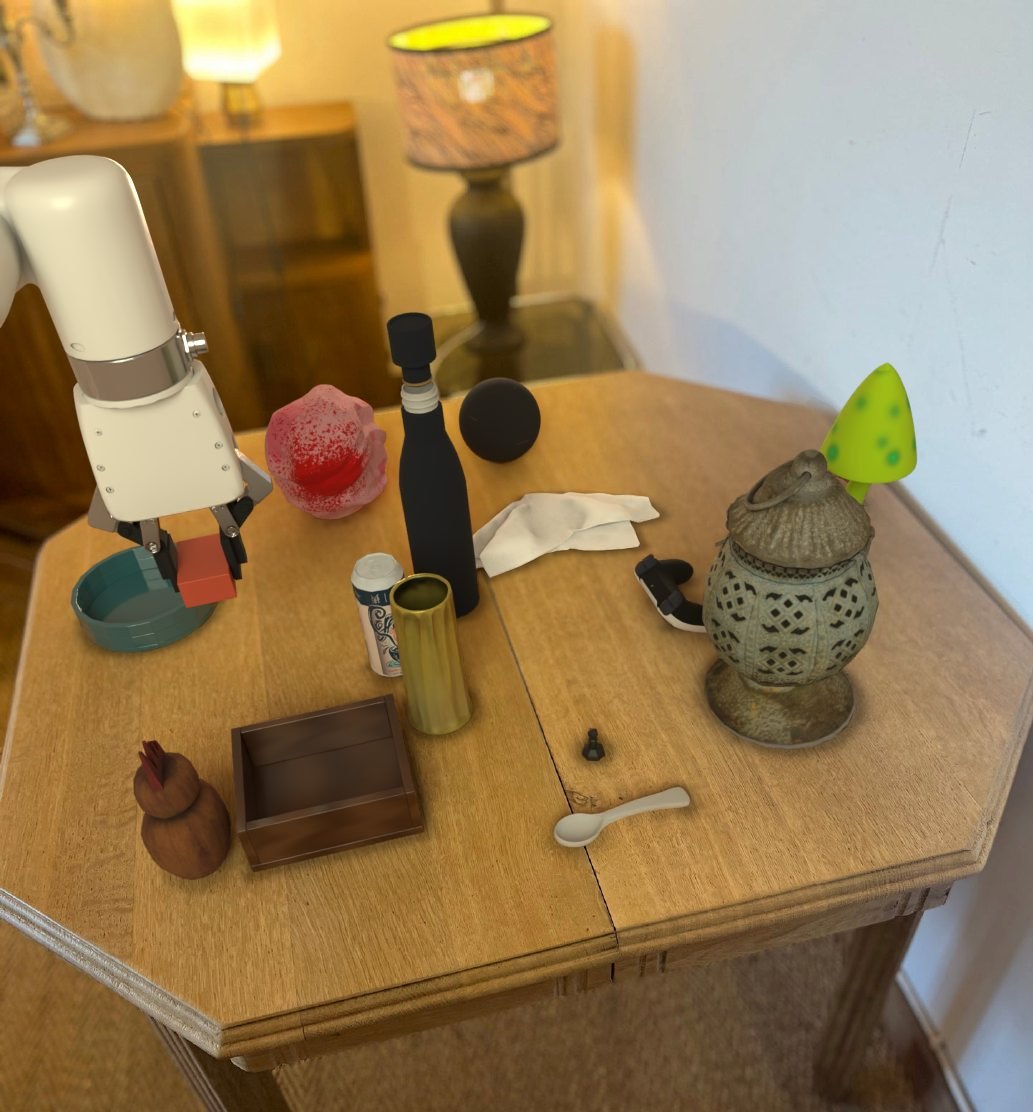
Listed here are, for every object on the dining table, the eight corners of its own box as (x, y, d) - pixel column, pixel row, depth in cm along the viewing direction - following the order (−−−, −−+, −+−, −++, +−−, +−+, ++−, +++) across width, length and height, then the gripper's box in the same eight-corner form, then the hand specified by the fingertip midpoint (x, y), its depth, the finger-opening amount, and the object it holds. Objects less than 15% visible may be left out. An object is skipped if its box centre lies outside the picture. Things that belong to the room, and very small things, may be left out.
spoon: (547, 831, 80) (547, 815, 79) (676, 791, 83) (679, 776, 82) (561, 858, 78) (562, 843, 77) (693, 817, 81) (696, 801, 80)
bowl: (78, 665, 99) (65, 639, 97) (88, 582, 109) (76, 557, 107) (219, 636, 101) (210, 610, 99) (216, 557, 111) (207, 532, 109)
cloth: (638, 478, 117) (638, 462, 116) (676, 543, 107) (677, 526, 106) (424, 516, 114) (421, 500, 113) (443, 586, 104) (440, 569, 103)
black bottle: (406, 607, 102) (355, 328, 82) (444, 574, 106) (404, 300, 85) (455, 627, 100) (414, 344, 79) (491, 593, 103) (462, 313, 82)
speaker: (456, 477, 120) (447, 402, 113) (470, 435, 127) (462, 362, 120) (537, 479, 118) (533, 403, 112) (546, 436, 126) (543, 362, 119)
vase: (468, 684, 93) (452, 564, 83) (477, 730, 89) (461, 609, 79) (405, 695, 93) (381, 575, 83) (411, 741, 89) (386, 621, 79)
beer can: (393, 687, 94) (372, 589, 85) (361, 666, 96) (337, 568, 88) (429, 660, 96) (412, 562, 88) (397, 641, 99) (377, 543, 90)
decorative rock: (409, 508, 106) (390, 365, 103) (275, 523, 103) (252, 376, 100) (390, 514, 124) (374, 392, 121) (276, 527, 121) (257, 402, 118)
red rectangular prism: (237, 597, 78) (229, 573, 76) (186, 608, 77) (177, 584, 76) (233, 555, 82) (225, 531, 81) (185, 565, 82) (176, 541, 80)
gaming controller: (663, 593, 105) (619, 567, 100) (692, 562, 103) (648, 535, 99) (707, 656, 97) (661, 631, 93) (738, 624, 95) (694, 596, 91)
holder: (253, 872, 79) (235, 832, 76) (246, 769, 87) (230, 728, 84) (423, 832, 81) (415, 791, 77) (401, 734, 89) (392, 693, 86)
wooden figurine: (219, 896, 78) (158, 772, 67) (152, 888, 79) (82, 765, 68) (250, 829, 82) (198, 703, 72) (186, 822, 83) (126, 697, 73)
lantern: (769, 775, 83) (812, 530, 66) (665, 681, 92) (678, 444, 75) (888, 706, 88) (957, 462, 70) (777, 623, 97) (814, 388, 79)
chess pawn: (576, 753, 86) (575, 730, 84) (592, 740, 87) (591, 717, 85) (593, 764, 85) (593, 741, 83) (609, 751, 86) (609, 728, 84)
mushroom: (829, 632, 95) (879, 395, 78) (778, 585, 101) (815, 354, 84) (899, 606, 97) (963, 370, 80) (846, 561, 103) (895, 332, 86)
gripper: (251, 319, 71) (306, 530, 83) (10, 361, 68) (105, 571, 81) (258, 364, 65) (316, 581, 78) (-2, 411, 63) (101, 627, 76)
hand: (208, 574), depth 79 cm, fingers closed on red rectangular prism, 4 cm apart
